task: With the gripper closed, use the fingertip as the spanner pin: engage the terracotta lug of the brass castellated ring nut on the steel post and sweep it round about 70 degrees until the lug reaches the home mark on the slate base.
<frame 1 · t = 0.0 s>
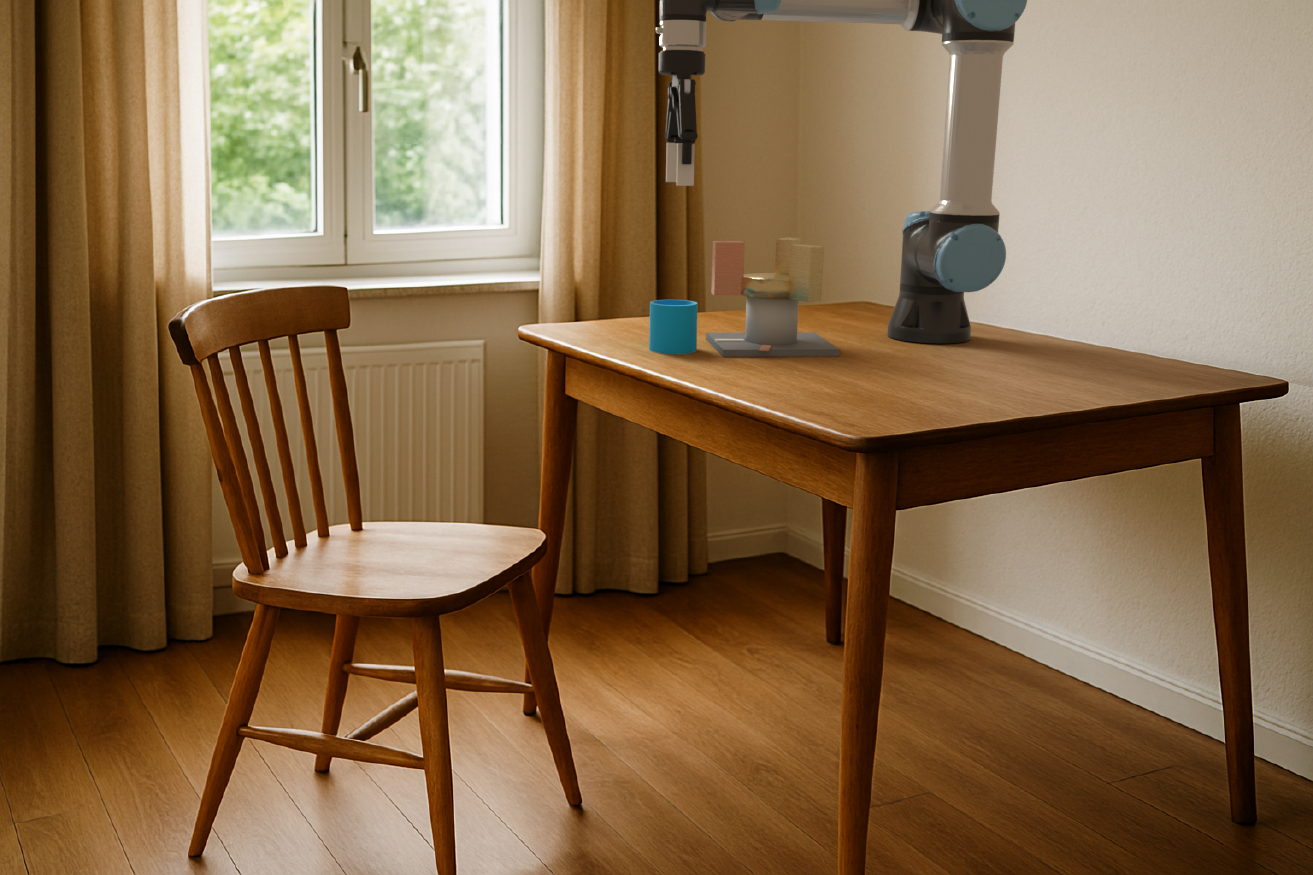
hand: (679, 184, 207), 28 cm above the table, fingers open, 13 cm apart
ring nut: (762, 268, 215), point 14 cm above the table, hinge at 0.0°
post base: (770, 347, 219), on the table
mug: (668, 349, 217), on the table
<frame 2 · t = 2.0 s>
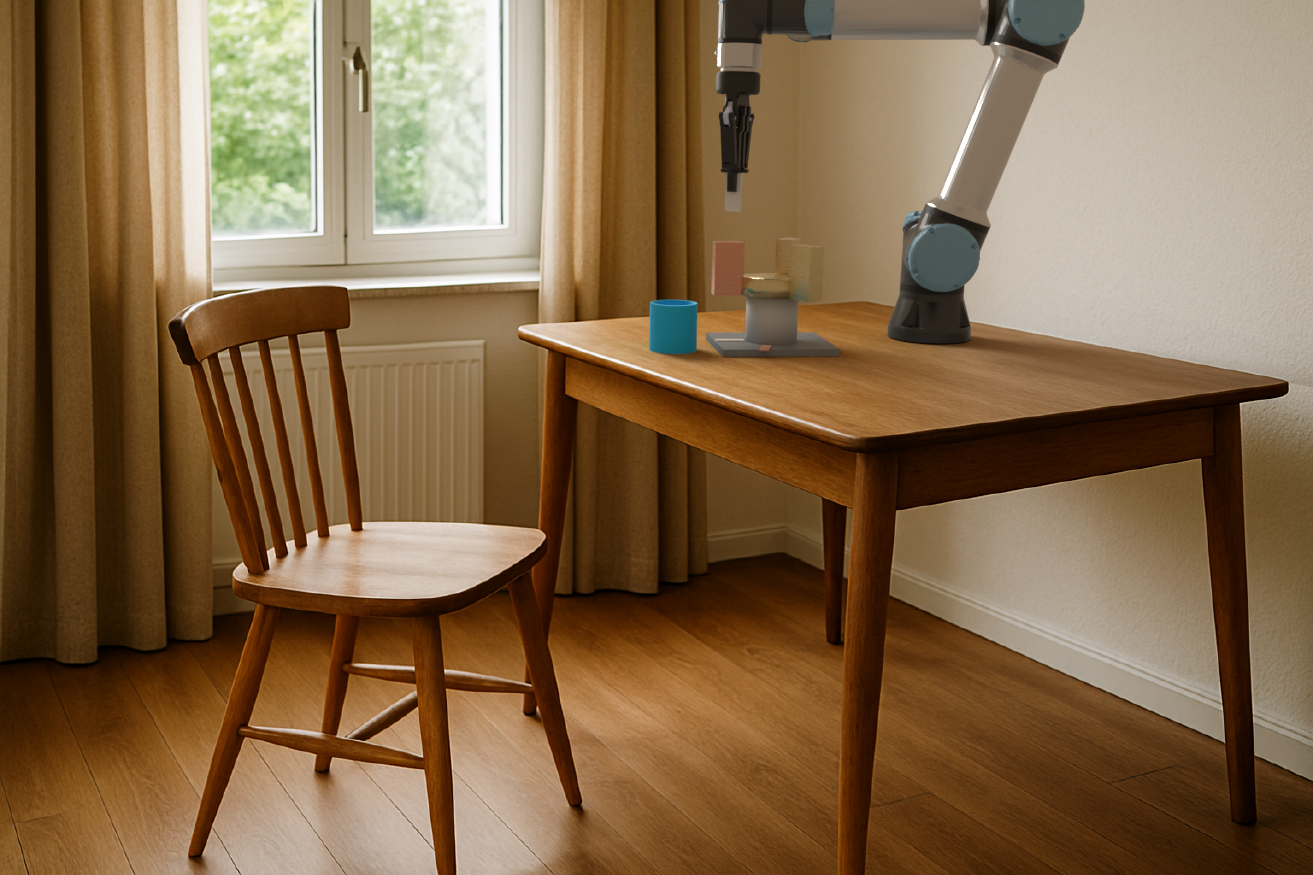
hand: (733, 211, 218), 23 cm above the table, fingers closed
nothing on the table moved.
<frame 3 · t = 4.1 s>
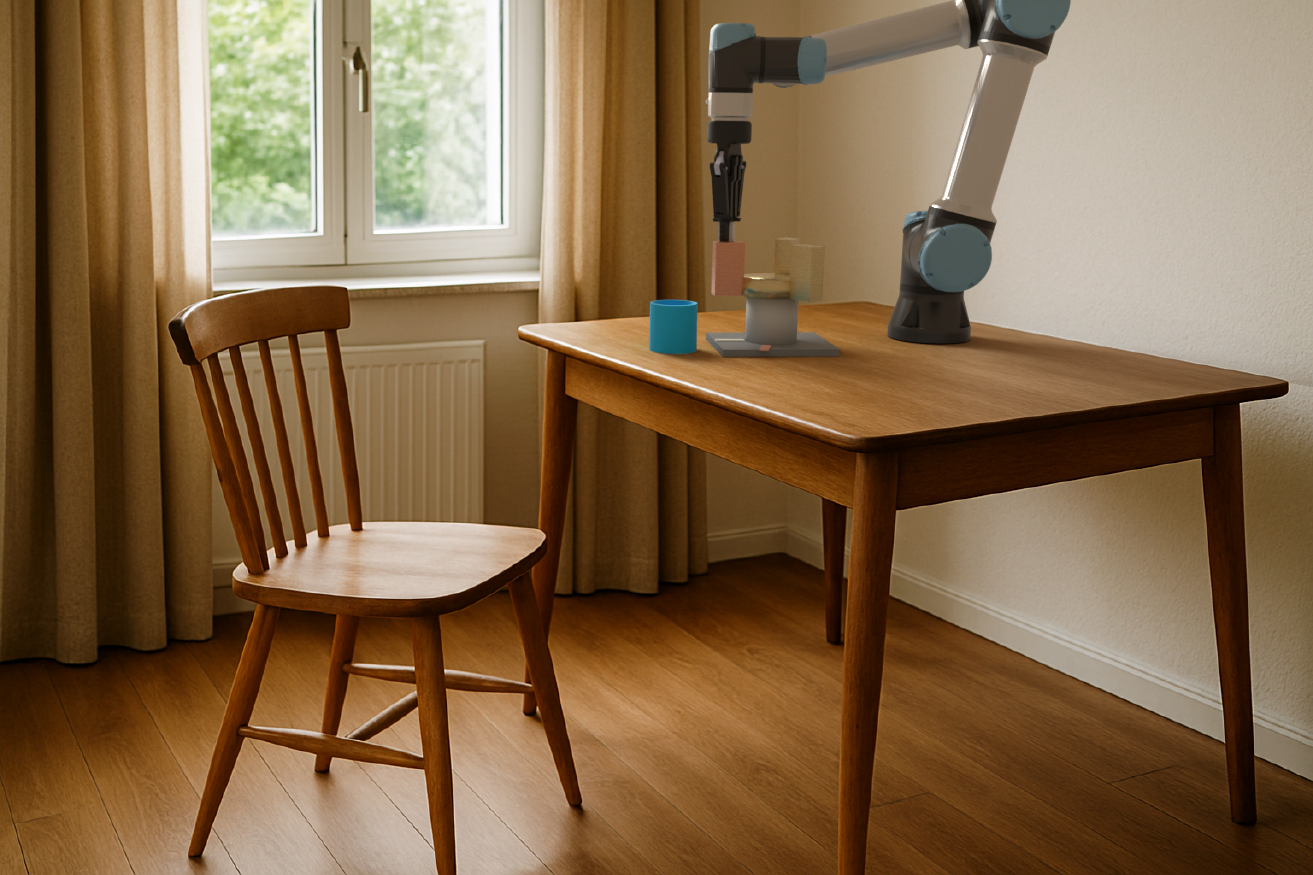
hand: (725, 259, 217), 15 cm above the table, fingers closed
ring nut: (762, 268, 215), point 14 cm above the table, hinge at 1.5°, touching gripper
everything else where it was.
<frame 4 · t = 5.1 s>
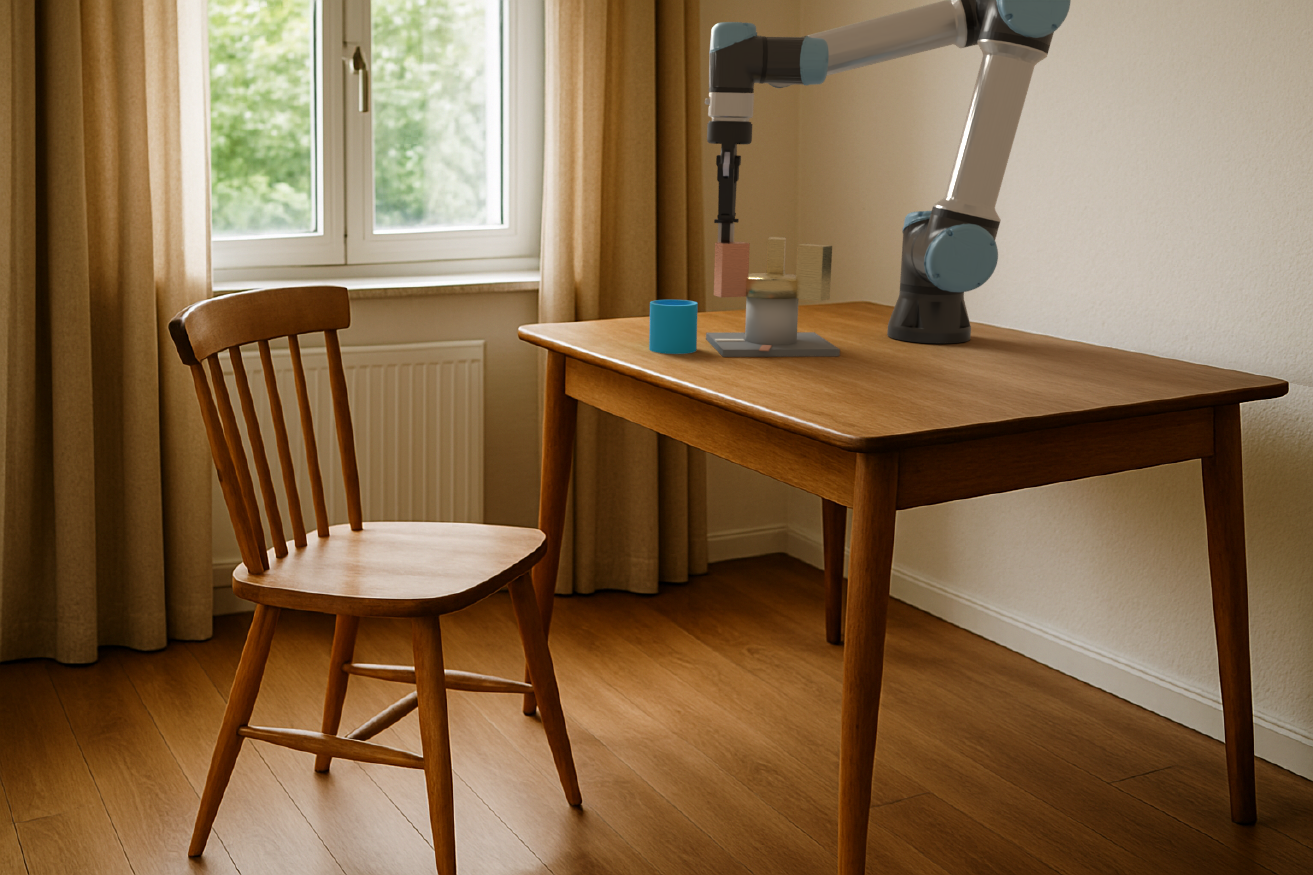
hand: (725, 261, 215), 15 cm above the table, fingers closed
ring nut: (763, 268, 215), point 14 cm above the table, hinge at 15.0°, touching gripper
everything else where it was.
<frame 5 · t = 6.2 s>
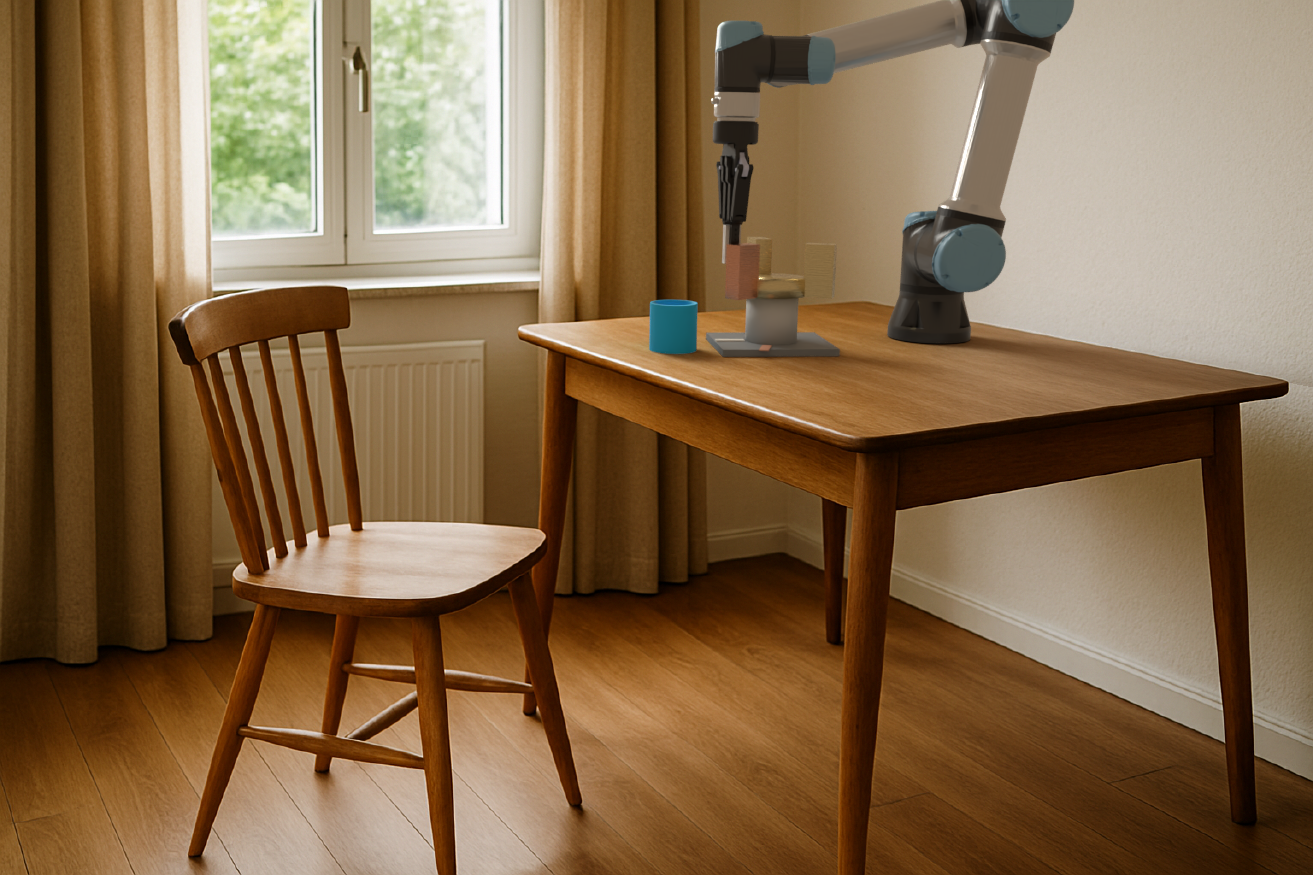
hand: (730, 263, 212), 15 cm above the table, fingers closed
ring nut: (766, 269, 214), point 14 cm above the table, hinge at 37.5°, touching gripper
everything else where it was.
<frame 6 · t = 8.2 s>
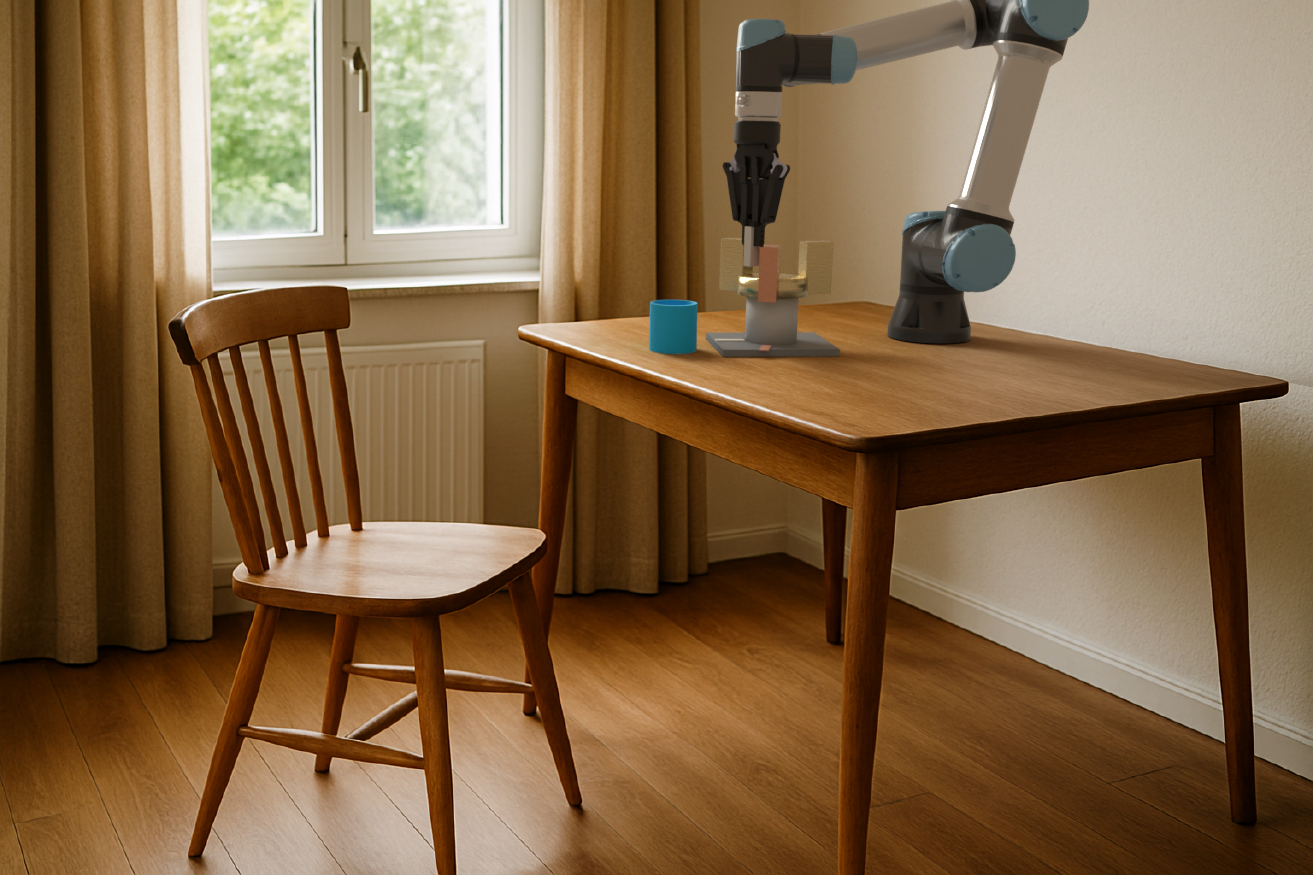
hand: (752, 265, 208), 15 cm above the table, fingers closed
ring nut: (772, 269, 214), point 14 cm above the table, hinge at 72.9°, touching gripper
everything else where it was.
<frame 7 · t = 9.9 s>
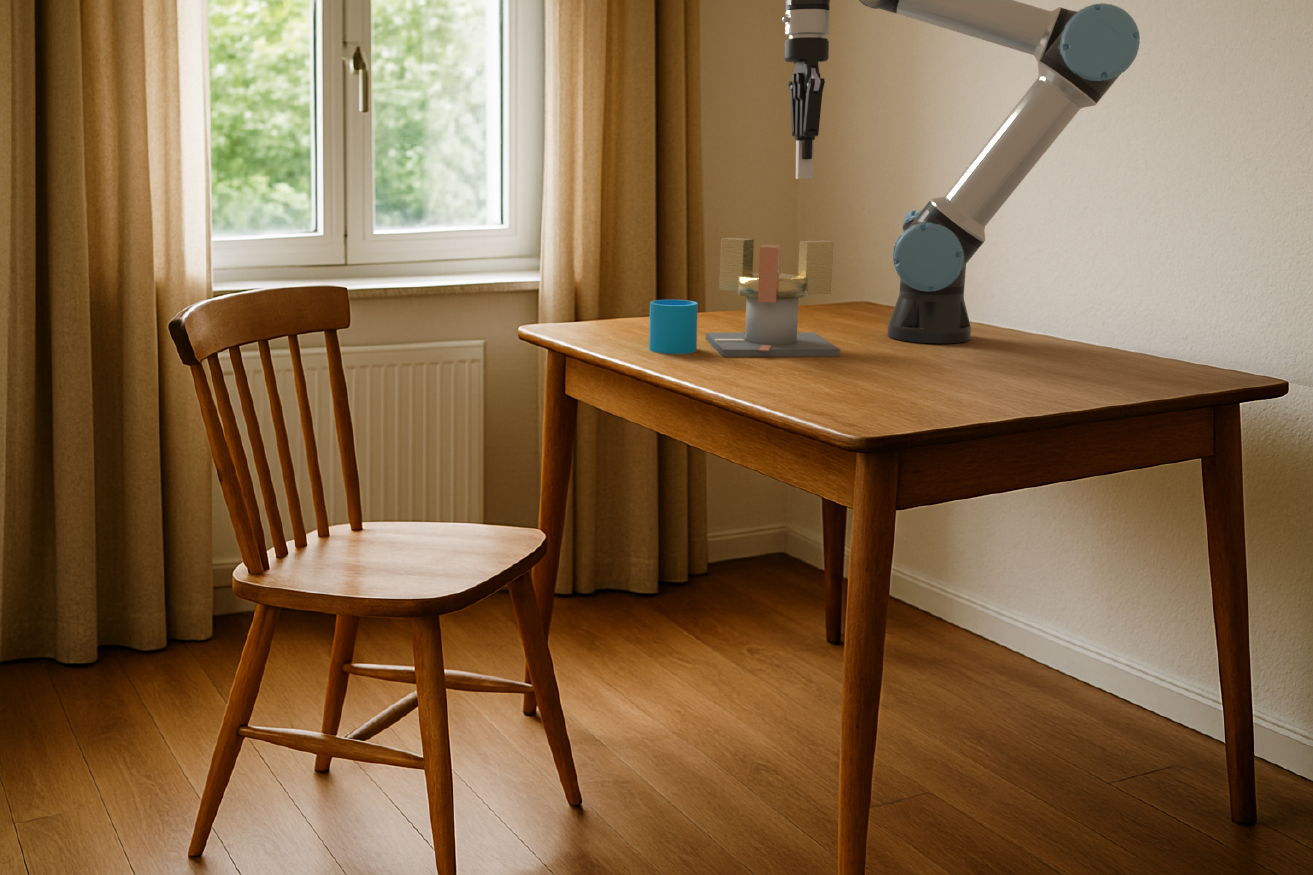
hand: (804, 178, 219), 29 cm above the table, fingers closed
ring nut: (772, 269, 214), point 14 cm above the table, hinge at 72.9°
everything else where it was.
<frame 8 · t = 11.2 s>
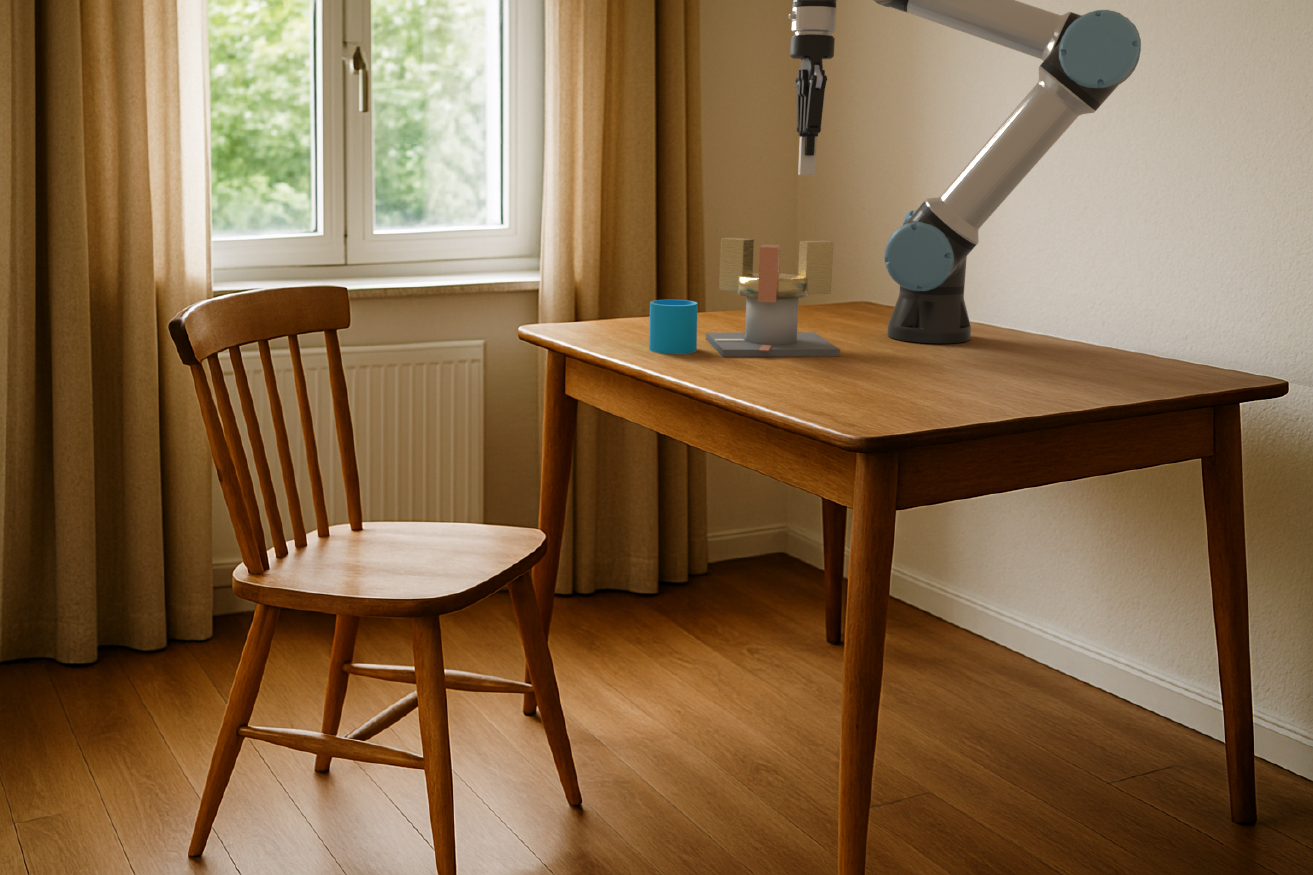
hand: (806, 174, 220), 29 cm above the table, fingers closed
nothing on the table moved.
at the end: ring nut at +73° (first picture: +0°); mug moved 0.3 cm from its start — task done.
